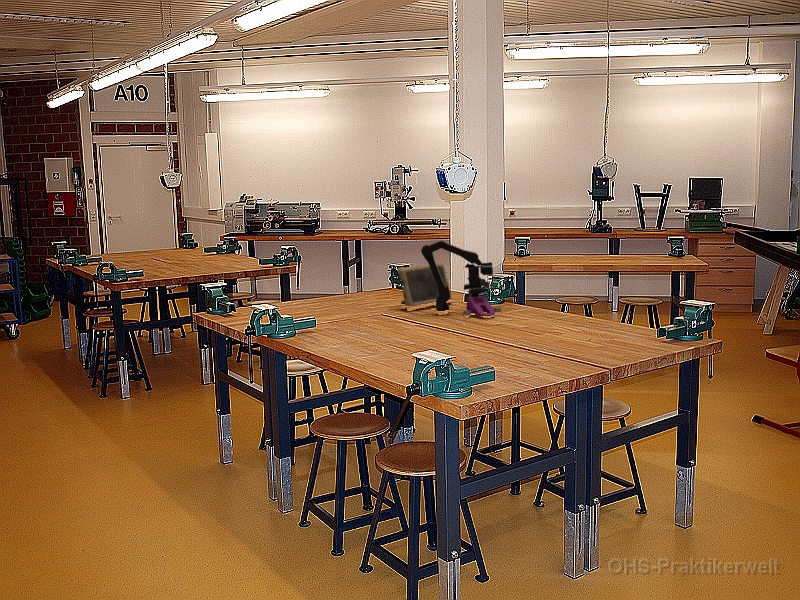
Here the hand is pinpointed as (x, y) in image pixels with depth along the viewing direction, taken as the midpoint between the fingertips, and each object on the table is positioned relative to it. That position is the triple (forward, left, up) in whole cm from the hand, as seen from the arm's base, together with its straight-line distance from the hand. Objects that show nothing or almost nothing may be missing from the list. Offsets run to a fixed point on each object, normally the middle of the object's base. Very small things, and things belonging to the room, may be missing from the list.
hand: (475, 304), depth 444 cm
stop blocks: (0, -11, -5) cm, 12 cm away
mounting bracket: (0, -11, -5) cm, 12 cm away
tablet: (-18, +35, -5) cm, 40 cm away
